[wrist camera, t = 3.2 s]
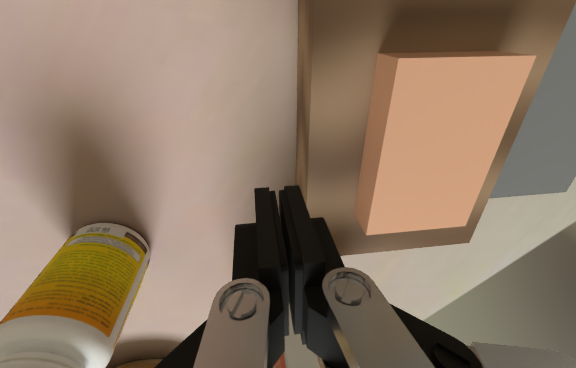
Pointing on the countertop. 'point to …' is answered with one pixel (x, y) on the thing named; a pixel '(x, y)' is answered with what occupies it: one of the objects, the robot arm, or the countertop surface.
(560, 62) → the mat
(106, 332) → the supplement bottle
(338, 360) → the robot arm
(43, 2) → the countertop surface
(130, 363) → the plant saucer
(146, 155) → the countertop surface
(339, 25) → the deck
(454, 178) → the peach rectangular slab
